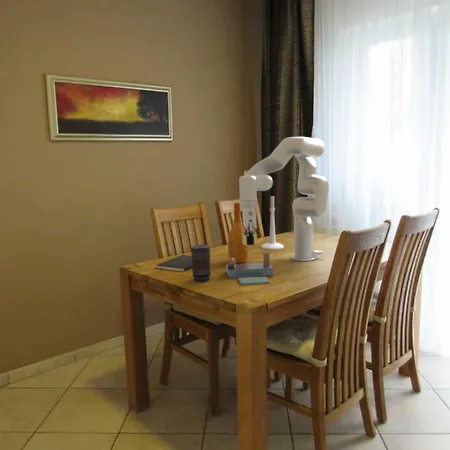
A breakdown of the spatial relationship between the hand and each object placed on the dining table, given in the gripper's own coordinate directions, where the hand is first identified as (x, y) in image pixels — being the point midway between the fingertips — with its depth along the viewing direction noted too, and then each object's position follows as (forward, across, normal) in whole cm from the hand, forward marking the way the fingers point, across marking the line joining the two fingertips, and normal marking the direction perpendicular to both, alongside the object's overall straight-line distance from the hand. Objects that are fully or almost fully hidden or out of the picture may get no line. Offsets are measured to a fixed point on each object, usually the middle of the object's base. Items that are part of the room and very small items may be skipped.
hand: (249, 243), depth 200 cm
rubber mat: (+14, -13, +1) cm, 19 cm away
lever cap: (0, 0, 0) cm, 0 cm away
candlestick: (+16, +54, -21) cm, 60 cm away
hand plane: (+14, 0, +1) cm, 14 cm away
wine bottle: (+15, +24, +3) cm, 28 cm away
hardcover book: (+15, +23, +30) cm, 41 cm away
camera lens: (+14, -6, +23) cm, 27 cm away
